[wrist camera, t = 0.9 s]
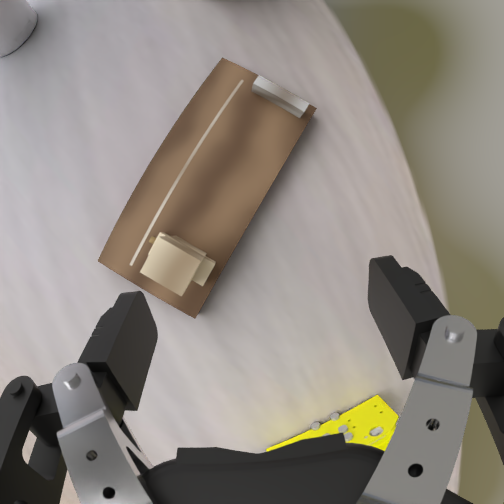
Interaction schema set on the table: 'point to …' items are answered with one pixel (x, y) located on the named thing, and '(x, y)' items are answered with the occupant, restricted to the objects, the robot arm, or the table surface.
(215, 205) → the walnut board
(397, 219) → the table surface
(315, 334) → the table surface
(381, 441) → the yellow toy chassis
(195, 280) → the beige tall blocky piece
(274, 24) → the table surface
